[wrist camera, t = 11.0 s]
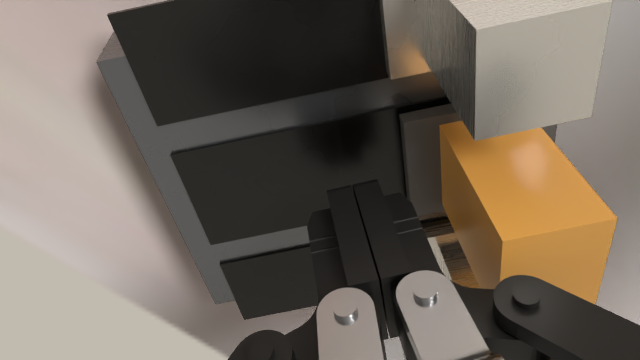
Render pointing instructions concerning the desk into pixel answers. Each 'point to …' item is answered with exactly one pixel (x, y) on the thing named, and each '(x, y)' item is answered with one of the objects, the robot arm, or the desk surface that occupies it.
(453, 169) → the orange rectangular block
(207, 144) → the panel
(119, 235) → the desk surface
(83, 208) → the desk surface
